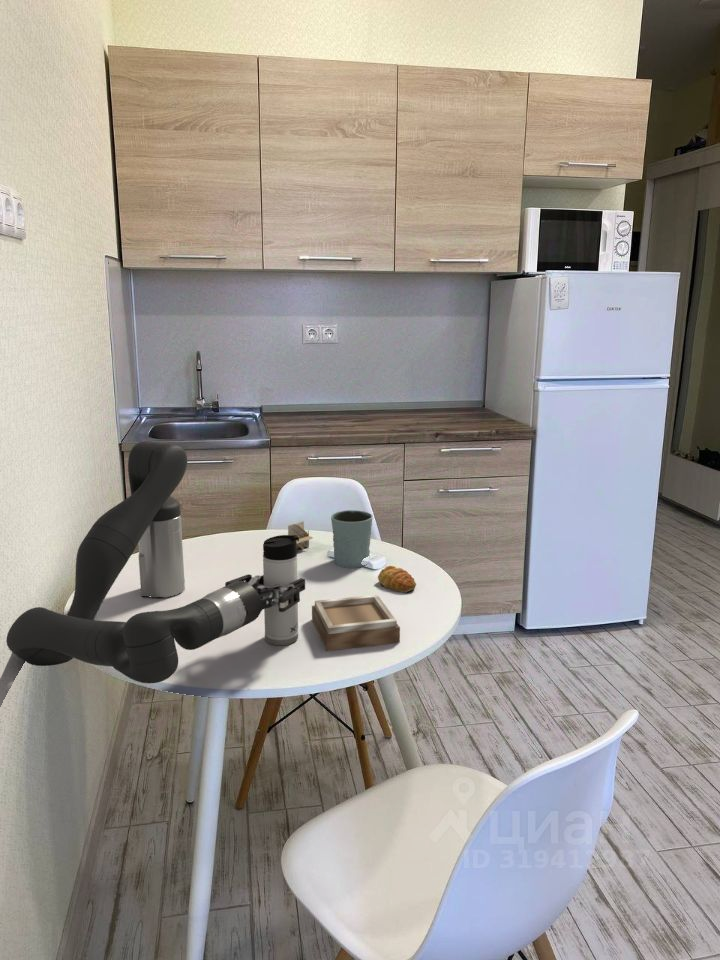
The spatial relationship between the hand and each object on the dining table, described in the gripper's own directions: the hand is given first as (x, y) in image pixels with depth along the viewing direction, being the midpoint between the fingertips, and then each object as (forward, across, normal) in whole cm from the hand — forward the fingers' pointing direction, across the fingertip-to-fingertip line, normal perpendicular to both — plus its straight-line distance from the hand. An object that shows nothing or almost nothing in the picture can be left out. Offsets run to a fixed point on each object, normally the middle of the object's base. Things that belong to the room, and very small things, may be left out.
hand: (289, 579), depth 134 cm
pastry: (+34, +4, -12) cm, 36 cm away
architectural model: (+41, -30, -12) cm, 52 cm away
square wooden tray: (+8, +10, -11) cm, 17 cm away
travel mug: (-2, 0, -11) cm, 11 cm away
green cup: (+40, -13, -11) cm, 44 cm away
